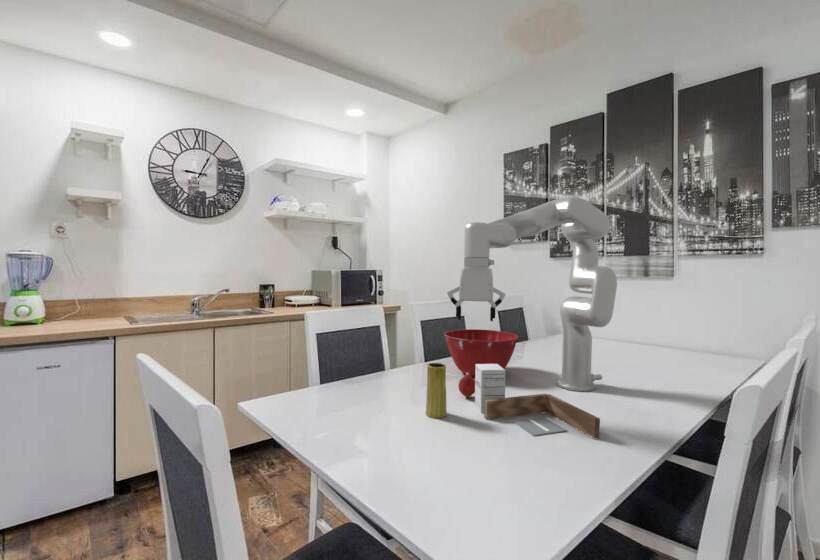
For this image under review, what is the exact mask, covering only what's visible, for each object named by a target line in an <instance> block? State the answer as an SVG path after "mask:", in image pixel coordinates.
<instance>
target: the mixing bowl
mask: <svg viewBox="0 0 820 560" xmlns="http://www.w3.org/2000/svg"><path fill="white" fill-rule="evenodd" d="M444 336H445V340H446V343H447V347H448V351H449V354H450V356H451V358H452V361H453V362H454V364H455V367H456V368H457V369H458V370H459V371H460V372H462V373H463V374H464V375H466V373H469V374H470V376H471V377H473V378H474V377H475V364H498V365H500V366H501V367H502V368H503V369H505V370H506V367H507V366H508V364H509V363H510V360H511V358H512V355H513V354H514V352H515V351H514V350H515V348H516V344H517V341H518V340H517V339H519V336H518V335H517V334H515V333H513V332H512V333H511V332H508V331H507V332H506V331H502V330H493V329H492V330H491V329H474V328H473V329H472V328H471V329H469V328H468V329H455V330H449V331H446V332H445V333H444Z"/></svg>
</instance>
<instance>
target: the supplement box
mask: <svg viewBox="0 0 820 560" xmlns="http://www.w3.org/2000/svg"><path fill="white" fill-rule="evenodd" d="M474 380H475V393H474V404H475V406H476V407H477V408H478V409H479V412H480V413H481V414H484V404H485V400H489V399H499V398H506V368H505V369H503V368H502V367H501V366H500V365H498V364H475V378H474Z"/></svg>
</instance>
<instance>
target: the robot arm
mask: <svg viewBox="0 0 820 560" xmlns="http://www.w3.org/2000/svg"><path fill="white" fill-rule="evenodd" d="M610 221H611V220H610V218H609V217H608V216H607V214H606V213H605V212H604V211H602V210H601V209H600V208H597V206H595V205H593V204H592V203H590V202H589V201H587V200H586V199H584V198H581V197H579V196H568V197H563V198H557V199H553V200H549V201H548V202H544V203H542V204H539V205H537V206H534V207H532V208H529V209H525V210H524V211H523V210H522V211H520V212H517V213H514V214H511V215H509V216H506V217H503V218H500V219H496V220H494V221H491V222H489V223H486V222H480V221H479V222H468V223H467V224H466V225H465V228H464V250H463V251H464V255H463V257H464V258H463V264H464V265H463V266H464V267H463V268H461V271H460V275H459V278H460V279H459V286H457V287H455V288H453V289H451V290H449V291H448V292H447V296H448V298H449V300H450V302H451V303H452V304H453V305H454V306H455V317H456V318H457V319H458V321H461V319H462V306H461V304H462V303H464V302H488V303H489V305H490V311H489V313H490V314H489V315H490V317H489V318H490V319H489V320H490V322H494V319H496V308H497V307H498V306H499V305H500V304H501V303H502V302H503V300H504V298H505V297H506V293H505V292H504V291H501V290H500V289H498V288H496V287H494V277H493V271H492V270H493V269H492V268H490V267H491V266H492V265H493V266H495V260H494V259H493V260H492V259H490V255H491V254H490V249H504V248H508V247H510V246H512V245H513V244H514V243H515V242H516V239H520V238H528V237H532V236H536V235H538V234H540V233H544V232H545V231H548V230H550V229H553V228H555V227H558V226H560V229H561V232H562V234H563V236H564V237H565V239H566V240H567V241H568V243H569V244H570V246H571V250H572V258H571V264H570V272H569V273H570V274H569V278H568V279H569V280H568V286H569V288H570V290H571V291H573V292H575V293H578V294H579V293H580V294H588V295H589V294H590V295H591V297H587V296H586V297H585V296H569V297H567V298H565V299H564V300H563V301H562V302H561V304H560V307H559V313H560V320H561V324H562V325H561V326H562V351H561V353H562V354H561V355H562V357H561V358H562V359H561V362H562V363H561V378H559V379H558V380H557V382H556V385H558V387H560V388H562V389H565V390H569V391H574V392H575V391H576V392H589V391H591V392H592V391H594V390H596V389H597V388H596V387H597V385H596V383H595V381H601V380H603V375H602V374H600V373H599V374H594V373H592V357H593V355H592V350H593V349H592V346H593V345H592V343H593V338H592V337H593V336H592V332H591V330H590V328H589V327H593V328H604V327H606V326H607V325H609V323H610V322H611V320H612V318H613V315H614V314H613V313H614V308H615V301H616V293H617V288H618V281H617V279H618V278H617V276H616V273H615V271H614V270H613V269H612V268H610V267H609V266H605V265H602V266H601V265H600V266H599V255H600V252H599V248H598V246H597V244H596V242H595V241H594V240H593V239H600V238H603V237H605V236H606V235H608V233H609V231H610V229H611V222H610ZM455 293H458V297H459V299H458V300H457V299H456V298H455V297H454V294H455ZM494 294H496V295H498V298H497V300H495V301H494V300H493V298H494Z"/></svg>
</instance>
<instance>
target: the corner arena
mask: <svg viewBox="0 0 820 560" xmlns="http://www.w3.org/2000/svg"><path fill="white" fill-rule="evenodd" d="M542 412H545V413H547V414H549V415H550V416H552V417H554V418H556V419H557V418H558V420H559V421H561V422H563V421H564V422H563V423H564V424H566V423H567V425H568V424H569V426H570V425H571V426H570V427H572V426H573V427H572V428H574V427H575V428H577V429H578V430H577V429H576V430H577V431H579V430H580V431H579V432H581V431H582V432H584V433H586V434H588V435H590V436H592V437H593V438H599V439H600V437H601V436H600V429H601V427H600V426H601V418H600V417H598V416H596V415H593V414H591V413H589V412H587V411H585V410H583V409H581V408H579V407H577V406H575V405H573V404H571V403H570V402H567V401H564V400H563V399H561V398H559V397H557V396H554V395H552V394H550V393H540V394H538V393H537V394H529V395H519V396H510V397H505V398H499V399H489V400H485V404H484V413H483V416H484V417H483V418H484V419H485V420H493V419H502V418H511V417H518V416H526V415H527V416H528V415H534V414H535V415H536V413H537V414H543V413H542ZM575 428H574V429H575ZM582 432H581V433H582ZM584 433H583V434H584ZM586 434H585V435H586ZM588 435H587V436H588ZM590 436H589V437H590ZM593 438H592V439H593Z"/></svg>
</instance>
